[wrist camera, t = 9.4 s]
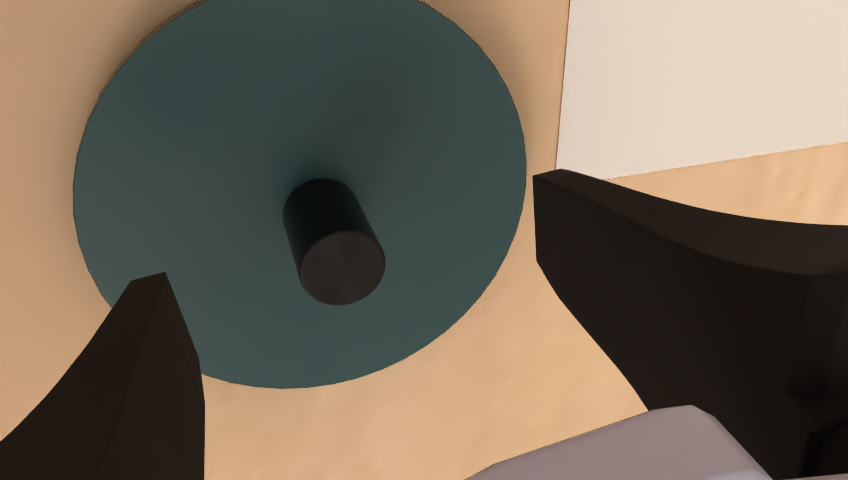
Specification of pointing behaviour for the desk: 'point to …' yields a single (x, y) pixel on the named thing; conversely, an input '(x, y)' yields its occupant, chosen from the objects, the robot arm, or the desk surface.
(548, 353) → the desk surface
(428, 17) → the lid
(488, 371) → the desk surface
